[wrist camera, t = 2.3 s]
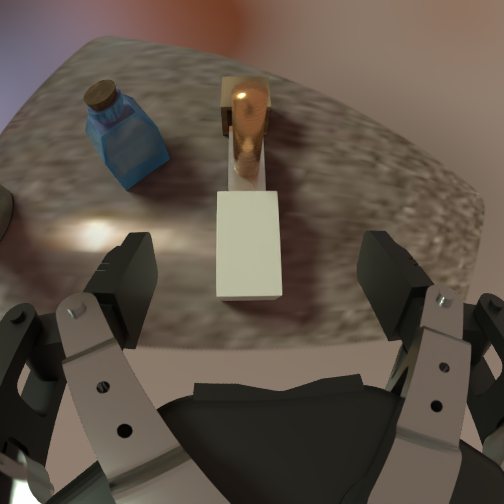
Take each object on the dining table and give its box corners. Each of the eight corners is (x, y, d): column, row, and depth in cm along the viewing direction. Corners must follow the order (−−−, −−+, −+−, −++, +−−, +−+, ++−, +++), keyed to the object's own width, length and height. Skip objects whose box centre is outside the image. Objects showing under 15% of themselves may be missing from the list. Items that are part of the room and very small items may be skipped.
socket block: (222, 135, 32) (220, 106, 27) (224, 105, 33) (222, 76, 28) (266, 135, 32) (271, 106, 27) (265, 105, 34) (268, 76, 28)
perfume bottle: (146, 129, 32) (116, 60, 21) (170, 159, 31) (142, 87, 20) (105, 158, 31) (62, 97, 19) (126, 190, 30) (79, 130, 18)
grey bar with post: (229, 289, 27) (219, 260, 14) (230, 144, 31) (226, 51, 18) (266, 289, 27) (289, 259, 14) (260, 144, 31) (271, 51, 18)
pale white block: (220, 301, 28) (216, 296, 23) (221, 212, 30) (217, 191, 25) (274, 299, 28) (282, 295, 23) (271, 212, 30) (277, 191, 25)
